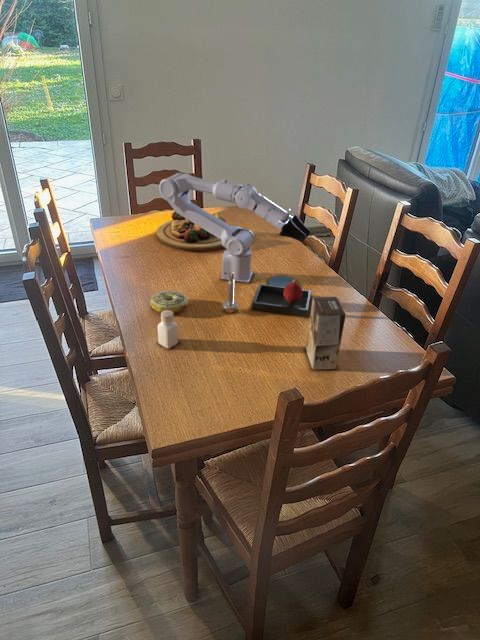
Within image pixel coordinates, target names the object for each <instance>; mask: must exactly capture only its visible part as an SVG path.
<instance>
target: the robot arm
mask: <svg viewBox="0 0 480 640" xmlns="http://www.w3.org/2000/svg"><path fill="white" fill-rule="evenodd" d="M158 189H159V193H160V197H161V198H162V199H163V200H165V202H166V201H167V203H168V204H169V205H170V206H171V208H172V209H173V211H176V212H177V213H178V214H180V215H181V216H183V217H185V218H186V219H188V220H189V221H191V222H193V223H194V224H196V225H198V226H199V227H201V228H203V229H204V230H206V231H208V232H209V233H211V234H213V235H214V236H216V237H218V238H219V239H221V241H222V245H223V246H224V247H223V248H225V250H224V251H223V254H222V260H221V277H220V278H221V280H226V281H228V280H229V273H230V272H233V273H234V278H233V279H234V282H240V283H247V284H249V283H250V281H251V279H252V276H253V274H254V271H252V270H251V269H252V268H251V267H252V252H253V251H252V246H253V245H254V243H255V241H256V240H255V239H256V237H255V234H254V233H253V232H252V231H251V230H250V229H249V228H242V227H240V226H238V225H231V224H229V223H227V222H226V223H225V222H223V221H222V220H220V219H218V218H217V217H215V216H214V214H211V212H208V211H207V210H205V209H204V208H201V207H200V206H199V205H196V204H195V203H193V202H191V199H190V191H195V192H200V193H201V192H202V193H207V194H212V195H213V196H214V198H215V199H216V200H220V201H224V202H228V203H232V204H236V205H237V207H238V208H239V209H247V210H248V211H251V212H252V213H253V214H255V215H256V216H258V217H259V218H261V219H262V220H264V221H265V222H267V223H268V224H270V225H271V226H273V227H274V228H276V230H278V231H280V232H279V236H282V237H286V238H291V239H293V240H296V241H299V242H301V243H304V242H305V240H306V239H307V238H308V237H309V236H310V234H311V233H312V231H311V230H310V228H308V226H306V225H305V224H304V222H303V221H302V220H301V218H300V217H299V215H298V214H297V213H295V214H294V215H293V216H292V215H291V211H292V210H291V209H290V208H289V209H288V210H284V209H283V208H282V207H280V206H279V205H277V204H276V203H274V202H272V200H270V199H268V198H267V197H265V196H263V195H262V194H260V192H258V190H257V187H255V186H254V185H252V184H250V183H246V184H244V185H242V183H238V182H237V183H233V182H230V181H228V179H225V178H223V179H220V180H218V181H217V182H213V181H210V180H206V179H204V178H200V177H196V176H193V175H191V174H189V173H184V172H176V173H175V174H173V175H170V176H169V177H166V178H164V179H162V180H161V181H160V182H159V185H158ZM228 224H229V225H228ZM230 225H231V226H230Z"/></svg>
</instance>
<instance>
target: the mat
mask: <svg viewBox="0 0 480 640" xmlns="http://www.w3.org/2000/svg"><path fill="white" fill-rule="evenodd" d="M293 280H295V279H294V278H292V277H290V276H286V275H276V276H275V275H274V276H272V277H270V278H269V279H268V282H267V283H268V284H267V285H272V286H280V287H286V286H287V285H288V284H289V283H292V281H293ZM296 283H298V282H296Z"/></svg>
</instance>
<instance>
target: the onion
mask: <svg viewBox="0 0 480 640" xmlns="http://www.w3.org/2000/svg"><path fill="white" fill-rule="evenodd" d="M296 282H297V280H296V279H294V280H293V281H292V283H289V284H288V285H287V286H286V287H285V288H284V292H283V295H284V297H285V299H286V300H287V301H288V302H289V303H291V304H293V303H295V302H297V301H299V300H300V299H301V297H302V290H303V288H302V286H301V285H300V284H299V283H298V282H297V283H296Z"/></svg>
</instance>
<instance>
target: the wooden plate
mask: <svg viewBox="0 0 480 640" xmlns="http://www.w3.org/2000/svg"><path fill="white" fill-rule="evenodd" d="M213 216H215V217H217V218H218V219H220V220H222V221H223V222H225V223H227V221H226V218H225V217H224V216H223V215H222V214H220V213H219V212H215V213H214V214H213ZM227 224H228V225H230V226H232V225H231V224H229V223H227ZM155 234H156V237H157V239H158V240H159V242H161V243H162V244H163V245H165V246H168V247H171V248H174V249H178V250H183V251H190V252H191V251H192V252H193V251H194V252H204V251H214V250H218V249H219V250H220V249H223V248H225V247H224V246H223V245H222V241H221V239H219V238H218V237H216V236H214V235H213V234H211V233H209V232H208V231H206V230H204V229H203V228H201V227H199V226H198V225H196V224H194V223H193V222H191V221H189V220H188V219H186V218H185V217H183V216H181V215H180V214H178V213H177V212H176V211H175V210H173V212H172V214H171V220H168V221H166V222H164V223H162V224H161V225H159V226H158V227H157V230H156V232H155Z"/></svg>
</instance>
